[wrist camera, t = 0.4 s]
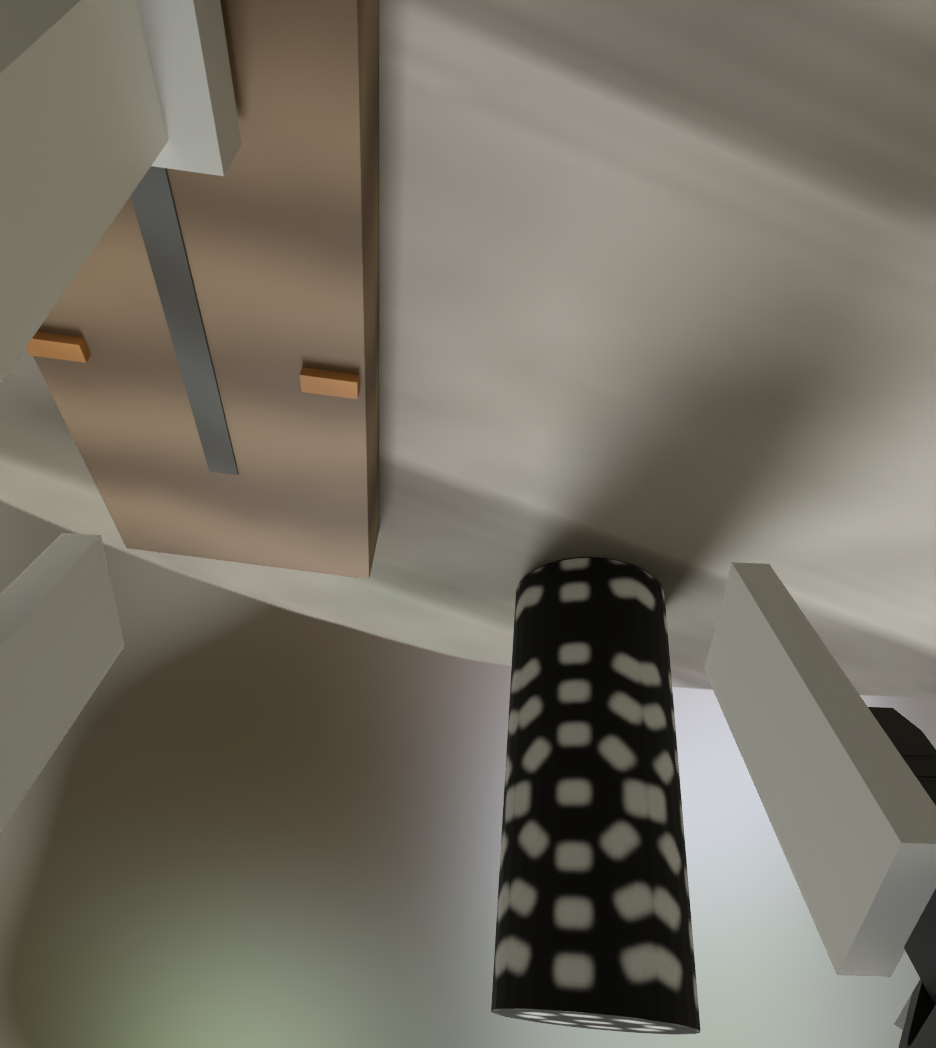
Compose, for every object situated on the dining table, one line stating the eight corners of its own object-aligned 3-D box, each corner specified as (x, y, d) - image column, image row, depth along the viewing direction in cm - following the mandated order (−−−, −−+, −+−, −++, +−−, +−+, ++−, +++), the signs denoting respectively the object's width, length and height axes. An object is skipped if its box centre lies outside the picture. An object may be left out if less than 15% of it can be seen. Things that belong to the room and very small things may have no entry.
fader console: (-146, -190, 17) (-244, -154, 15) (378, -111, 17) (351, -65, 15) (142, 499, 38) (117, 553, 36) (378, 530, 38) (367, 585, 36)
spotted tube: (655, 549, 37) (691, 1021, 25) (671, 629, 44) (707, 1038, 32) (498, 565, 40) (464, 1002, 28) (534, 639, 46) (519, 1022, 34)
